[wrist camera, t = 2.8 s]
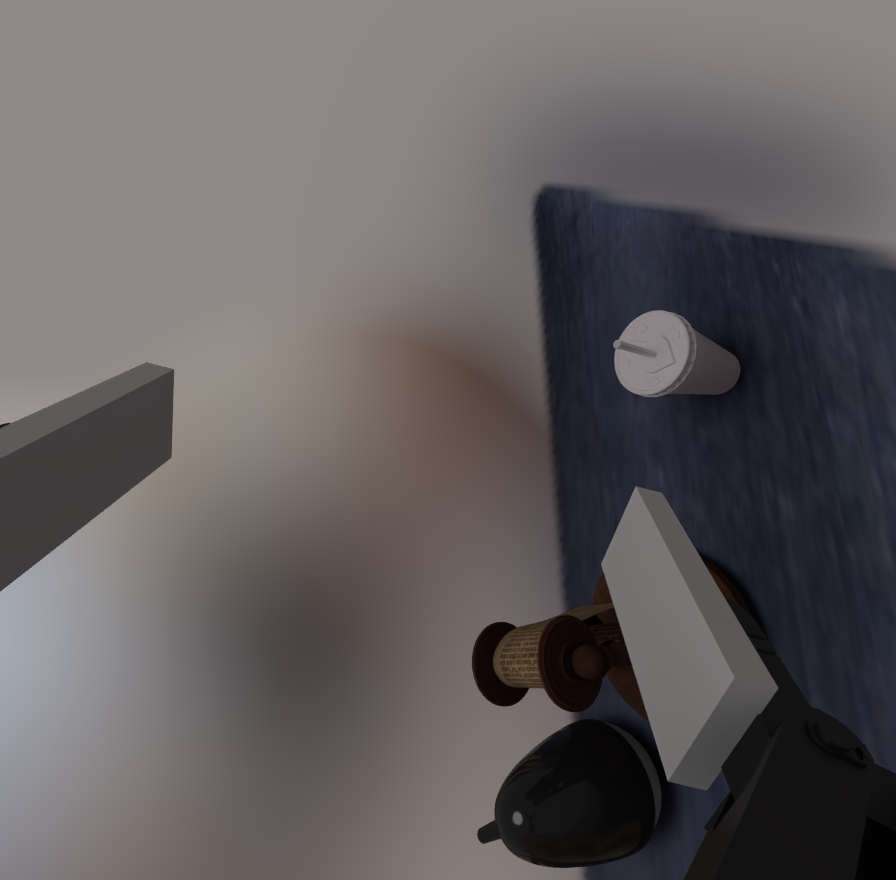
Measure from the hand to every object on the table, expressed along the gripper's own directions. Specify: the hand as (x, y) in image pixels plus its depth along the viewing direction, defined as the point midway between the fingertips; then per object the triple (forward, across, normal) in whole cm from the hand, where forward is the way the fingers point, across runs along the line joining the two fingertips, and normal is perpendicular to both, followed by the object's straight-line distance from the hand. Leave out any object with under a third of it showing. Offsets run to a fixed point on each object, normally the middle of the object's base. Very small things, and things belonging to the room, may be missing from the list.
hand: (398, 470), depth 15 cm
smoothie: (+32, -23, +1) cm, 39 cm away
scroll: (+24, -26, +21) cm, 41 cm away
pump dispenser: (+21, -26, +36) cm, 48 cm away
